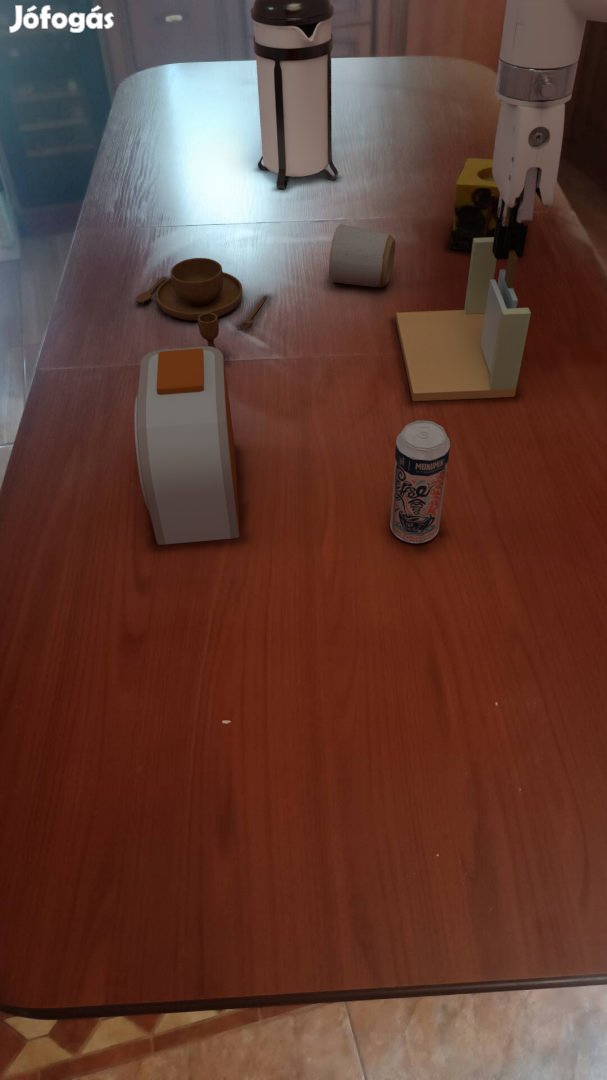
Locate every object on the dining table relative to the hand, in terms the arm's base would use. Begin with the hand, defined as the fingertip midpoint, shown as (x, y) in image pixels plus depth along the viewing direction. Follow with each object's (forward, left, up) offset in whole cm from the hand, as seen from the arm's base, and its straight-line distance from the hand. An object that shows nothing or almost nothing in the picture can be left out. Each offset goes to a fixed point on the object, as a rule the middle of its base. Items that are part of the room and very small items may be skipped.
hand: (506, 254), depth 92 cm
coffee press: (+24, -59, -13) cm, 65 cm away
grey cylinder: (+15, -20, -13) cm, 28 cm away
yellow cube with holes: (-5, -30, -13) cm, 33 cm away
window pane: (0, +3, -11) cm, 11 cm away
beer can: (+14, +31, -13) cm, 36 cm away
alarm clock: (+36, +24, -13) cm, 45 cm away
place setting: (+39, -11, -13) cm, 42 cm away
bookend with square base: (+5, +1, -13) cm, 14 cm away
